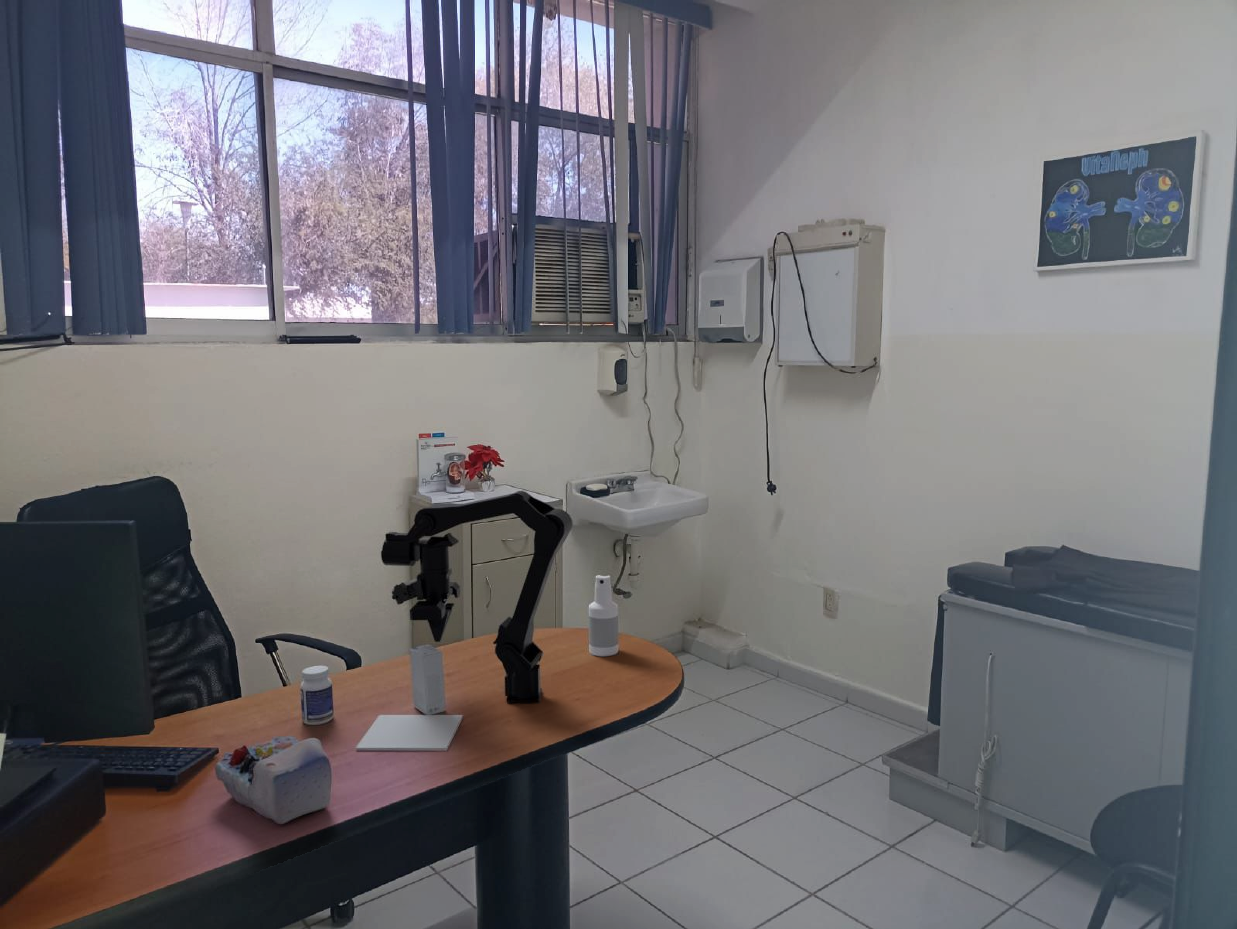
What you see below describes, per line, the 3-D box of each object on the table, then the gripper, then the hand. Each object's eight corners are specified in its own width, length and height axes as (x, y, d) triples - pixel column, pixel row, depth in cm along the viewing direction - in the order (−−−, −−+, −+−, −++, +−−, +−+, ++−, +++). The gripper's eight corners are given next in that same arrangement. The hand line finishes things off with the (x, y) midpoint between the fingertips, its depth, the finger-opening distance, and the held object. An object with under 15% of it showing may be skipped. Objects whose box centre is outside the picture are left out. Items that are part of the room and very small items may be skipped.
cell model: (268, 768, 123) (204, 733, 136) (274, 840, 124) (210, 798, 137) (349, 736, 133) (282, 706, 146) (354, 803, 134) (286, 768, 147)
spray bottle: (586, 656, 199) (585, 579, 197) (592, 646, 206) (591, 572, 204) (615, 657, 198) (615, 580, 196) (620, 647, 205) (620, 573, 202)
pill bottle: (340, 716, 167) (337, 666, 166) (318, 728, 162) (315, 676, 160) (317, 711, 169) (314, 662, 168) (295, 723, 164) (292, 672, 163)
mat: (462, 717, 166) (462, 715, 166) (446, 750, 152) (446, 747, 152) (379, 717, 166) (379, 715, 166) (355, 750, 152) (355, 747, 152)
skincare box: (446, 711, 169) (444, 650, 168) (425, 717, 166) (423, 656, 165) (431, 701, 174) (429, 643, 172) (411, 707, 171) (408, 647, 169)
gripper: (407, 556, 185) (410, 627, 187) (381, 578, 167) (385, 657, 168) (459, 556, 185) (462, 627, 187) (439, 578, 166) (442, 657, 168)
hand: (437, 641), depth 178 cm, fingers closed
